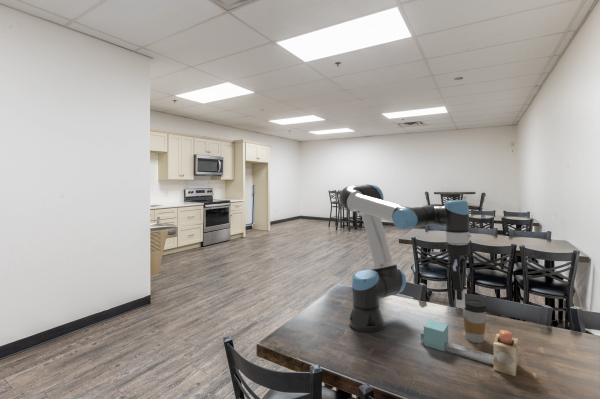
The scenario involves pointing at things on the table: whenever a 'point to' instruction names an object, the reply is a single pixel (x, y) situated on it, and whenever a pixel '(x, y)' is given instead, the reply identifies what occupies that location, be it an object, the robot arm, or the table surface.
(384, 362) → the table surface
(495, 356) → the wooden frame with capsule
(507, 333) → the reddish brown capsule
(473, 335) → the coffee cup
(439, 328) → the block
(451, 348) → the rail
